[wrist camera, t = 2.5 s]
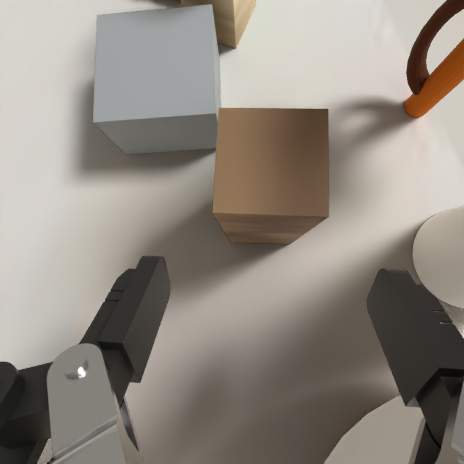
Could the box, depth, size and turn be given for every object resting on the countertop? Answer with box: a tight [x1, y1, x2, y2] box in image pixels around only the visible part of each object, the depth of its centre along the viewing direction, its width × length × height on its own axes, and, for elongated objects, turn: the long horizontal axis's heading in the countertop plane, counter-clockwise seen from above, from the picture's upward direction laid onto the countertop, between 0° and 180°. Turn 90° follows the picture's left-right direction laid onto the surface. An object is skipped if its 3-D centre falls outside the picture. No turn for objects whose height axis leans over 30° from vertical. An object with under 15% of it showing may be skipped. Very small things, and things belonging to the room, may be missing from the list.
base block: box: [93, 4, 221, 154], centre depth 20 cm, size 8×8×5 cm
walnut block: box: [212, 108, 329, 244], centre depth 16 cm, size 4×4×10 cm
